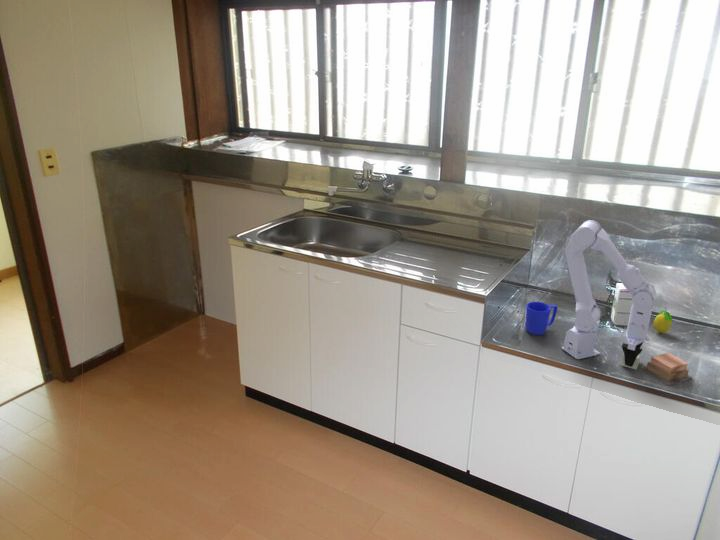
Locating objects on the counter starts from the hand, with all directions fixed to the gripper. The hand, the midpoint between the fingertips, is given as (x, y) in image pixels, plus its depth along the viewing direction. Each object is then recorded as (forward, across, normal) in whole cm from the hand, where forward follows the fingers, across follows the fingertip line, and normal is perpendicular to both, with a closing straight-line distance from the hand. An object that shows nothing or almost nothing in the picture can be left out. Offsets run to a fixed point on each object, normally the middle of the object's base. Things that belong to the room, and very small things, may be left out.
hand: (630, 360), depth 177 cm
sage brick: (+2, 0, 0) cm, 2 cm away
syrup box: (+2, +30, +8) cm, 31 cm away
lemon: (+2, +29, -5) cm, 29 cm away
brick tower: (+2, 0, -10) cm, 11 cm away
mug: (+2, +6, +31) cm, 32 cm away
